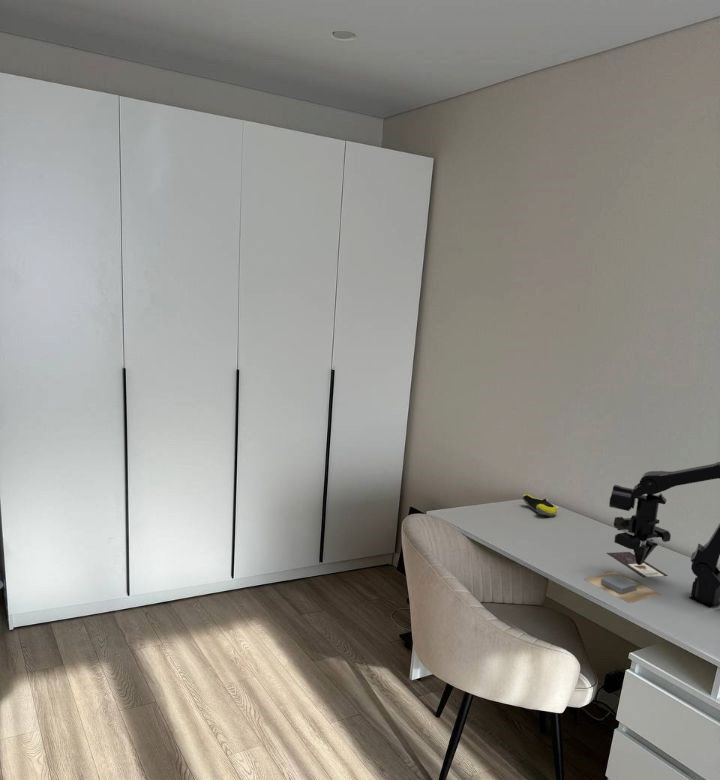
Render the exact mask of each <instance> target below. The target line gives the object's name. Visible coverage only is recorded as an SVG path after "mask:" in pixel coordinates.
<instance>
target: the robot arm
mask: <svg viewBox="0 0 720 780" xmlns="http://www.w3.org/2000/svg"><path fill="white" fill-rule="evenodd" d="M717 479H719V480H720V461H717V462H715V463H711V464H706V465H701V466H695V467H690V468H685V469H679V470H674V471H673V470H672V471H667V470H666V471H665V470H664V471H663V470H652V471H651V470H650V471H646V472H645V473H643V474H642V476H641V478H640V480H639V483H637V484H636V485H634V487H633V488H630V487H624V486H621V485H617V484H614V485H613V486H612V490H611V491H612V492H611V495H610V497H609V502H608V504H609V506H608V507H609V508H614V509H617V510H623V511H626V512H630V510H632V509H635V506H636V510H635V514H634V515H632V516H631V517H623V516H616V517H614V520H613V526H614V528H615V529H617V531H621V530H622V531H625V530H626V531H625V532H620V533H616V534H615V536H614V541H613V542H614V543H615V544H618V545H620V546H622V547H624V548H626V549H629V550H633V553H634V555H635V559H636V563H637V564H638V565H642V563H643V562H644V561H645V562H646V560H647V558H648V557H649V556H650V554H651V553H652V552H653V551H654V550H655V548H656V547H658V545H659V544H658V543H656V542H655V539H658V538H661V540H662V542H664V543H667V542H670V541H671V537H672V535H671V533H670V531H669V530H667V529H664V528H661V527H659V526H656V525H658V524H660V519H657V517H658V511H659V504H662V505H666V504H667V501H668V500H667V499H666V497H664V496H663V494H662V492H665V491H667V490H669V489H672V488H673V487H677V486H678V487H679V486H683V485H689V484H695V483H700V482H704V481H711V480H717ZM636 501H637V502H636ZM636 503H637V504H636ZM696 546H697V547H696V549H695V551H694V552H692V553H691V557H690V562H691V568H690V569H691V571H692V573H693V574H694V575H695V578H694V581H692V587H691V592H690V595H689V596H688V598H689V600H692V601H694V602H695V603H698V604H700V605H702V606H705V607H707V608H710V609H711V608H714V607H715V608H716V607H717V606H720V569H719V568H718V567H717V566H718V562H719V559H720V523H718V525H717V527H716V528H715V530H714V532H713V534H712V535H711V537H710V538H709V540H708V541H707V542H706V543H705V544H704V545H702V544H700V543H698V544H697V545H696Z"/></svg>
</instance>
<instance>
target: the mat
mask: <svg viewBox="0 0 720 780" xmlns="http://www.w3.org/2000/svg"><path fill="white" fill-rule="evenodd" d="M614 575H619V576H621V577H623V578H625V579H627V580H629V581H631V582H633V583H635V584H637V590H634V591H630V592H626V593H623V594H620V593H618V592H616V591H614V590H612V589H610V588H608V587H606V586H604V585H602V584H601V579H602V578H606V577H610V576H614ZM583 580H584V581H586V582H588V583H590V584H592V585H593V586H595V587H597V588H599V589H602V590H603V591H606V592H607V593H609V594H611V595H613V596H615V597H617V598H619V599H621V600H623V601H624V602H627V603H629V604H631V603H635V602H636V603H637V602H639V601H642V600H645V599H650V598H652V597H653V598H654V597H656V596H660V595H661V593H659V592H657V591H655V590H653V589H651V588H649V587H647V586H646V585H643V584H641V583H639V582H636V581H635V580H633V579H631V578H628V576H627V577H626V576H624V575H623V574H620V573H619V572H616V571H611V572H608V573H603V574H599V575H596V576H592V577H587V578H584V579H583Z"/></svg>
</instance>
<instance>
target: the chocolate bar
mask: <svg viewBox="0 0 720 780" xmlns="http://www.w3.org/2000/svg"><path fill="white" fill-rule="evenodd" d="M606 554H607V555H608V556H610V557H612V558H613V559H615V560H616V561H618V562H619V563H620V564H622V565H623V566H626V567H627V568H628V569H629V570H632V571H633V572H634V573H636V574H638V575H639V576H641V577H642V578H652V577H654V578H655V577H668V574H666V573H665V572H663V571H662V570H660V569H658V568H657V567H655V566H653V565H652V564H649V562H647V561H646V560H645V561H644V562H643V563H642V565H638V564H637V563H636V559H635V554H633V553H632V552H631V551H621V552H619V551H618V552H606Z"/></svg>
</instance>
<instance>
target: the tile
mask: <svg viewBox="0 0 720 780" xmlns="http://www.w3.org/2000/svg"><path fill="white" fill-rule="evenodd" d="M601 584H602V585H604V586H606V587H608V588H610V589H612V590H614V591H616V592H618V593H620V594H623V593H626V592H630V591H634V590H637V584H635V583H633V582H631V581H629V580H627V579H625V578H623V577H621V576H619V575H614V576H610V577H606V578H602V579H601Z"/></svg>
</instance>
